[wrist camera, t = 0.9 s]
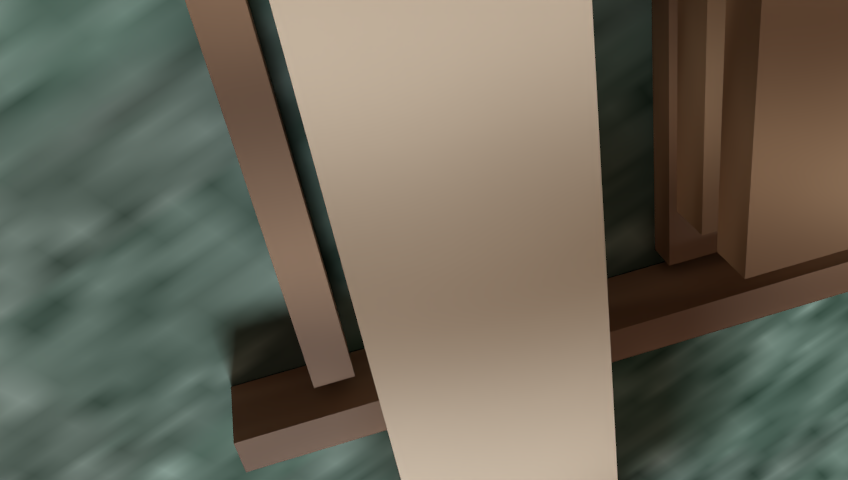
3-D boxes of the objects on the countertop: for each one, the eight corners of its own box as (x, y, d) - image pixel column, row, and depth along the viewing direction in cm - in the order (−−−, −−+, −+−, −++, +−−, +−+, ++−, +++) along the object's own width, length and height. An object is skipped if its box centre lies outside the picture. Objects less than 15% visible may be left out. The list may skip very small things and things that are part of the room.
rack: (834, 242, 23) (884, 280, 21) (242, 414, 21) (246, 472, 19) (936, -513, 14) (1035, -549, 12) (-63, -329, 12) (-104, -343, 11)
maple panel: (464, 252, 20) (621, 550, 13) (347, 284, 20) (437, 610, 12) (387, -197, 15) (583, -145, 7) (224, -162, 14) (250, -68, 7)
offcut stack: (816, 194, 22) (912, 263, 19) (648, 242, 22) (719, 320, 19) (883, -394, 15) (1051, -431, 12) (636, -345, 15) (746, -370, 12)
